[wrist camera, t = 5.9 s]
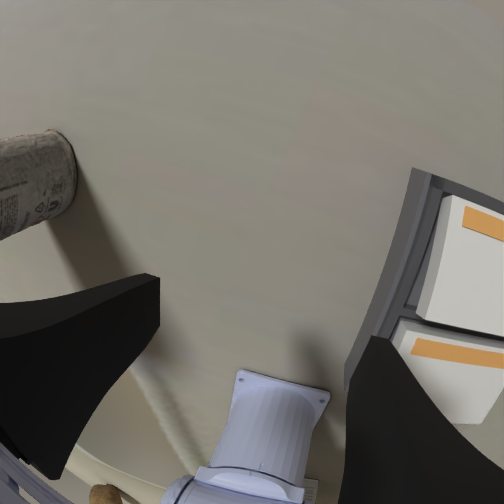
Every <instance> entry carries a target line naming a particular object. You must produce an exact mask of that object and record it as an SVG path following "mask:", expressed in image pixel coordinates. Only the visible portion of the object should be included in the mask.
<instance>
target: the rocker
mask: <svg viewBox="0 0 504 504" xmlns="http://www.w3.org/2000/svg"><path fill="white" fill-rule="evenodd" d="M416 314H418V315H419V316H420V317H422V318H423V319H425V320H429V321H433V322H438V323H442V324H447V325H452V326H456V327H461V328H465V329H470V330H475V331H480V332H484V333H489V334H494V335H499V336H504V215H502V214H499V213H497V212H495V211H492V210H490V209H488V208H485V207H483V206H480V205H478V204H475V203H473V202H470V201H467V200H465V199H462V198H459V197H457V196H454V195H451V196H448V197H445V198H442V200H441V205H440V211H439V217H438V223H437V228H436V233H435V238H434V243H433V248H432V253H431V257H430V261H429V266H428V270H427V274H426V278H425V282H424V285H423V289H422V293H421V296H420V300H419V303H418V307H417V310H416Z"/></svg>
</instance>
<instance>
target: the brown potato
mask: <svg viewBox="0 0 504 504" xmlns="http://www.w3.org/2000/svg"><path fill="white" fill-rule="evenodd" d="M89 502H90V504H123V503H122V499H121V497H120V494H119V492H118V490H117V488H115V487H114V486H112V485H100V484H97V485H94V486H93V487H92V489H91V491H90V495H89Z"/></svg>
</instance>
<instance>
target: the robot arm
mask: <svg viewBox="0 0 504 504" xmlns="http://www.w3.org/2000/svg"><path fill="white" fill-rule="evenodd" d="M159 326H160V278H159V277H156V276H153V275H150V274H147V273H144V274H138V275H134V276H131V277H127V278H124V279H120V280H117V281H114V282H110V283H107V284H104V285H101V286H97V287H94V288H90V289H87V290H83V291H79V292H75V293H72V294H68V295H63V296H59V297H54V298H48V299H42V300H36V301H26V302H14V303H0V504H30V503H29V502H27V501H26V500H25V499H24V498H23V497H22V496H21V495H20V494H19V487H18V485H19V486H21V487H22V488H23V489H24V490H25V491H26V492H27V493H28V494H30V495H31V496H32V497H33V498H34V499H36V500H37V501H38V502H39V503H40V504H74V503H72V502H71V501H69V500H68V499H66V498H65V497H64V496H62V495H61V494H60V493H58V492H57V491H55V490H54V489H53V488H51V487H50V486H49V485H48V484H46V483H45V482H44V481H43V480H41V479H40V478H39V477H38V476H36V475H35V474H34V473H32V471H30V470H29V469H28V468H27V467H26V466H25V465H24V464H22V463H21V462H20V461H19V460H18V459H19V458H21V459H22V460H23V461H24V462H25V463H27V464H28V465H30V464H31V465H32V466H33V467H34V468H36V469H37V470H38V471H39V472H41V473H42V474H43V475H44V476H46V477H47V478H48V479H50V480H57V479H60V477H61V474H62V472H63V469H64V467H65V465H66V463H67V460H68V458H69V456H70V454H71V452H72V450H73V448H74V446H75V444H76V442H77V440H78V438H79V436H80V434H81V432H82V431H83V429H84V427H85V426H86V424H87V422H88V421H89V419H90V417H91V416H92V413H93V412H94V411H95V409H96V408H97V406H98V405H99V403H100V402H101V400H102V399H103V397H104V396H105V394H106V393H107V392H108V390H109V389H110V388H111V387H112V386H113V384H114V383H115V382H116V381H117V380H118V379H119V377H120V376H121V375H122V374H123V373H124V372H125V371H126V370H127V368H128V367H129V366H130V365H131V364H132V363H133V362H134V360H135V359H136V358H137V357H138V356H139V355H140V353H141V352H142V351H143V350H144V349H145V348H146V346H147V345H148V343H149V342H150V340H151V339H152V337H153V336H154V334H155V333H156V331H157V329H158V328H159ZM241 378H242V379H241ZM243 379H244V380H243ZM330 395H331V394H330V392H328V391H325V390H320V389H316V388H311V387H307V386H303V385H299V384H294V383H290V382H287V381H283V380H279V379H275V378H271V377H268V376H264V375H261V374H257V373H254V372H250V371H247V370H239V371H238V373H237V377H236V382H235V387H234V392H233V398H232V403H231V408H230V413H229V418H228V421H227V424H226V426H225V428H224V430H223V433H222V435H221V437H220V440H219V442H218V444H217V446H216V449H215V451H214V453H213V455H212V457H211V460H210V462H209V464H208V466H207V467H203V466H200V467H199V469H198V471H197V473H196V475H195V476H192V475H185V476H183V477H181V478H179V479H177V480H176V481H174V482H173V483H172V484H171V485H170V486H169V488H168V489H167V491H166V492H165V494H164V496H163V498H162V499H161V502H160V504H313V503H312V502H311V501H303V498H304V494H305V489H304V488H302V485H303V481H304V476H305V471H306V465H307V460H308V455H309V449H310V443H311V437H312V431H313V429H314V427H315V425H316V424H317V422H318V420H319V418H320V416H321V414H322V413H323V411H324V409H325V407H326V405H327V403H328V401H329V400H330ZM321 399H324V400H321ZM338 504H504V470H503V469H501V468H500V467H499V466H497V465H496V464H495V463H493V462H492V461H491V460H489V459H488V458H487V457H486V456H484V455H483V454H482V453H481V452H480V451H478V450H477V449H476V448H475V447H474V446H473V445H472V444H471V443H470V442H469V441H468V440H467V439H466V438H464V437H463V436H462V435H461V434H460V433H459V432H458V430H457V429H456V428H455V427H454V426H453V425H452V424H451V423H450V422H449V421H448V419H447V418H446V417H445V416H444V415H443V414H442V413H441V411H440V410H439V409H438V408H437V406H436V405H435V404H434V402H433V401H432V400H431V399H430V397H429V396H428V395H427V393H426V392H425V391H424V389H423V388H422V386H421V385H420V384H419V382H418V381H417V379H416V378H415V376H414V375H413V373H412V372H411V370H410V369H409V367H408V366H407V364H406V363H405V361H404V360H403V358H402V357H401V356H400V354H399V353H398V351H397V350H396V348H395V347H394V345H393V344H392V343H391V341H390V340H389V339H387V338H382V337H378V336H373V335H371V337H370V339H369V342H368V344H367V346H366V348H365V350H364V352H363V354H362V356H361V359H360V361H359V363H358V365H357V367H356V369H355V371H354V373H353V375H352V377H351V379H350V383H349V390H348V397H347V405H346V449H345V467H344V475H343V480H342V486H341V491H340V495H339V500H338Z"/></svg>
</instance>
